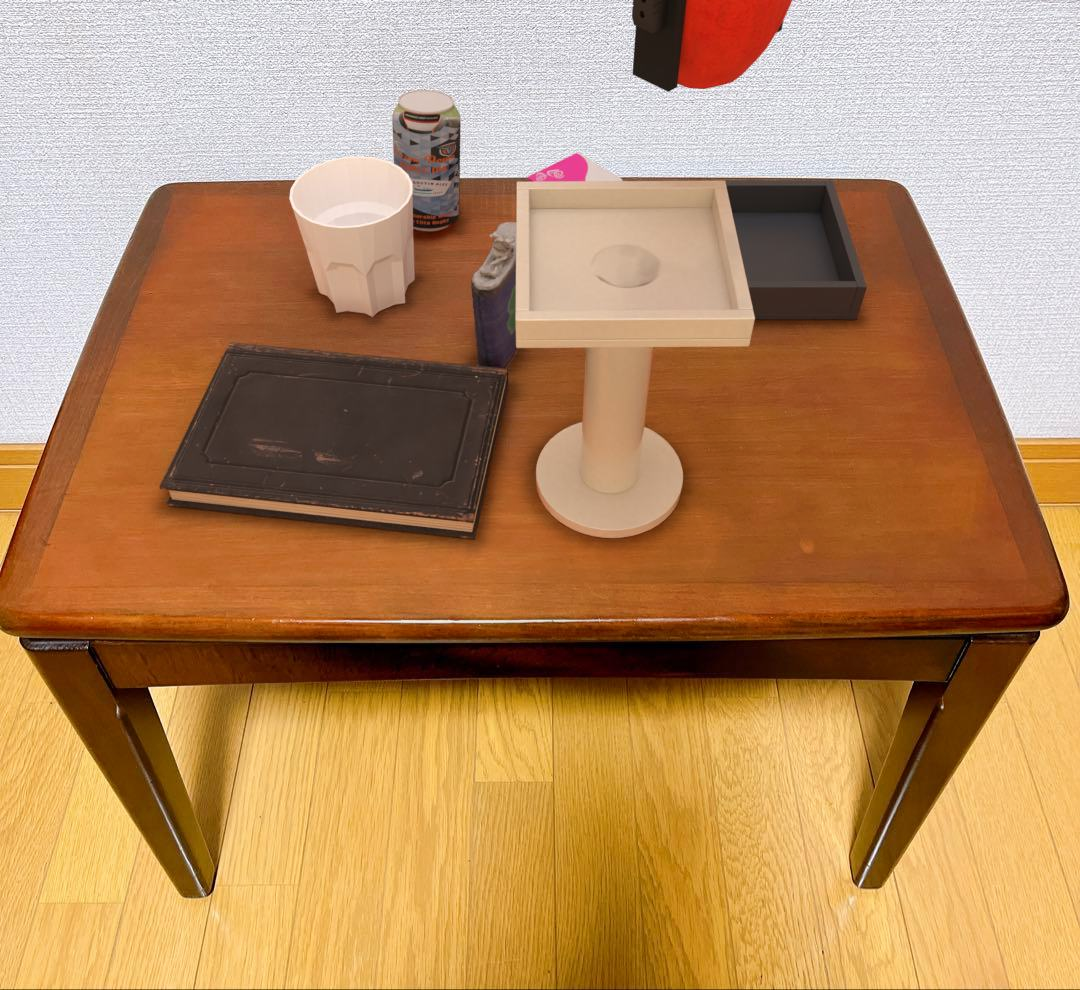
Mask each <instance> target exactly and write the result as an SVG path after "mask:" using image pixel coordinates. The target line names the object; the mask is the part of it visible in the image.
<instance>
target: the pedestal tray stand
mask: <svg viewBox="0 0 1080 990" xmlns="http://www.w3.org/2000/svg"><path fill="white" fill-rule="evenodd" d="M725 181H726V180H623V181H551V182H527V181H516V200H515V201H516V203H515V204H516V205H515V207H516V208H515V209H516V210H515V211H516V213H515V215H516V216H515V219H516V220H515V223H516V304H515V326H516V348H518V349H546V348H547V349H558V348H560V349H561V348H563V349H564V348H565V349H566V348H569V349H571V348H573V349H575V348H576V349H577V348H578V349H581V348H583V349H584V348H585V353H584V355H585V357H584V375H583V395H582V396H583V398H582V399H583V401H582V416H581V417H582V419H581V421H579V422H576V423H574V424H572V425H569V426H567V427H565V428H564V429H562V430H561V431H559V432H557V433H556V434H555V435H553V436H552V437H551V438H550V439H549V440H548V441H547V442H546V444H545V445H544V447H543V448H542V450H541V451H540V453H539V456H538V457H537V462H536V465H535V488H536V491H537V494H538V497H539V500H540V501H541V503H542V505H543V506H544V508H545V510H547V512H548V513H549V514H550V516H552V518H554V519H555V520H556V521H558V522H559V523H561V524H562V525H563V526H565V527H567V528H569V529H571V530H573V531H574V532H577V533H581V534H582V535H587V536H591V537H594V538H595V537H596V538H603V539H622V538H627V537H633V536H637V535H641V534H644V533H646V532H648V531H650V530H652V529H654V528H655V527H658V526H659V525H660V524H662V523H663V522H664V521H665V520H666V519H668V517H669V516H670V515H671V514H672V513H673V511H674V510H675V508H676V507H677V505H678V504H679V501H680V498H681V496H682V495H681V494H682V489H683V482H684V470H683V465H682V462H681V460H680V457H679V456H678V454H677V453H676V451H675V449H674V448H673V446H671V444H670V442H668V441H667V440H666V439H665V438H664V437H663V436H661V435H660V434H659V433H657V432H655V431H654V430H652V429H650V428H649V427H647V426H645V425H646V417H647V407H648V401H649V391H650V381H651V373H652V364H653V357H654V356H653V355H654V349H655V348H713V347H714V348H715V347H717V348H718V347H721V348H722V347H723V348H724V347H725V348H726V347H731V348H732V347H737V348H738V347H739V348H740V347H750V344H751V339H752V335H753V330H754V325H755V316H754V311H753V306H752V302H751V297H750V293H749V288H748V284H747V279H746V274H745V270H744V265H743V261H742V256H741V251H740V247H739V242H738V238H737V233H736V228H735V224H734V219H733V215H732V210H731V205H730V201H729V196H728V192H727V187H726V182H725Z"/></svg>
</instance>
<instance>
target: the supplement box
mask: <svg viewBox="0 0 1080 990" xmlns="http://www.w3.org/2000/svg"><path fill="white" fill-rule="evenodd" d="M551 181H624V180H623V179H622V178H621V177H619V176H618V175H616V174H615V173H613V172H611V171H609V170H608V169H606V168H604V167H602V166H601V165H599V164H597V162H594V161H593V160H591V159H590V158H588V157H587V156H585V154H582V153H581V152H579V151H577V152H575V153H573V154H571V155H570V156H566V157H565V158H563V159H561V160H559V161H557V162H555V163H552V164H551V165H549V166H547V167H544V168H543V169H540V170H539V171H536V172H535V173H532V174H530V175H528V176H527V177H526V182H551Z"/></svg>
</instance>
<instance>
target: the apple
mask: <svg viewBox="0 0 1080 990" xmlns="http://www.w3.org/2000/svg"><path fill="white" fill-rule="evenodd" d="M792 2H793V0H686V10H685V19H684V29H683V38H682V47H681V57H680V66H679V75H678V85H680V86H682V87H684V88H687V89H694V90H696V89H697V90H707V89H711V88H716V87H720V86H725V85H727V84H731V83H734V82H735V81H736V80H737V79H739V78H740V77H741V76H743V75H744V74H745V72H747V71H748V69H750V67H751V66H753V64H754V63H755V62H756V61H757V60H758V59H759V58H760V57H761V55H762V54H763V53H764V52H765V51H766V50H767V49H768V47H769V45H770V44H771V42H772V41H773V39H774V38H775V36H776V34H777V33H778V32H777V30H778V29H779V27H780V25H781V23H782V22H783V23H784V20H785V18H786V16H787V13H788V12H789V9H790V7H791V5H792ZM776 32H777V33H776Z"/></svg>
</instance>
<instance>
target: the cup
mask: <svg viewBox="0 0 1080 990" xmlns="http://www.w3.org/2000/svg"><path fill="white" fill-rule="evenodd" d="M289 202H290V204H291V208H292V211H293V214H294V216H295V220H296V223H297V227H298V229H299V232H300V236H301V238H302V241H303V244H304V247H305V250H306V251H305V252H306V254H307V257H308V260H309V264H310V267H311V270H312V273H313V277H314V281H315V283H316V284H315V285H316V287H317V289H318V293H319V294H321V295H324V296H326V297H327V298H328V299H329V300H330V301H331V302H332V303H333V306H334V309H335V313H336V314H338V313H343V312H349V313H350V312H351V313H359V314H364V315H368V316H369V317H371V318H374V317H375V316H376V315H377V314H378V313H379V312H381V311H383V310H385V309H387V308H390V307H392V306H395V305H402V304H403V305H404V304H406V296H405V295H406V292H407V289H408V287H409V285H411V283H413V282H414V281H415V279H416V278H415V277H416V276H415V275H416V274H415V250H414V249H415V248H414V245H415V244H414V229H413V191H412V181H411V179H410V177H409V175H408V174H407V173H406V172H405V171H404V170H403V169H402V168H401V167H399V166H397V165H395V164H394V162H391V161H389V160H384V159H382V158H379V157H373V156H363V155H361V156H360V155H359V156H344V157H339V158H334V159H329V160H326V161H324V162H320V163H318V164H315V165H313V166H312V167H310V168H309V169H307V170H305V171H304V172H302V173H301V174H300V175H299V176H298V177H297V178H296V179H295V181H294V182H293V184H292V185H291V187H290V190H289Z"/></svg>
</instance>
